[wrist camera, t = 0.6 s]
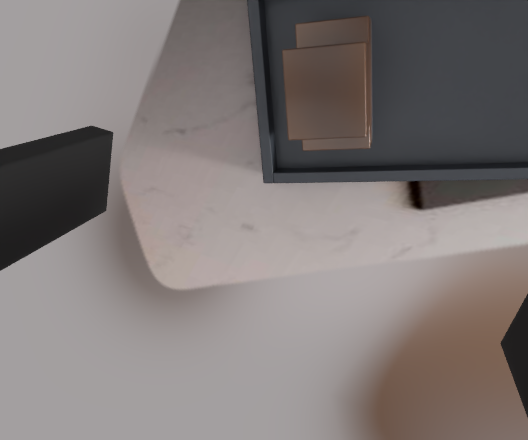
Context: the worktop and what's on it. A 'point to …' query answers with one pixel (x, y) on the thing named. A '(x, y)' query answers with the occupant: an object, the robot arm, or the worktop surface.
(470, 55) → the tray
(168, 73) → the worktop surface
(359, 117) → the brown t-shaped block
